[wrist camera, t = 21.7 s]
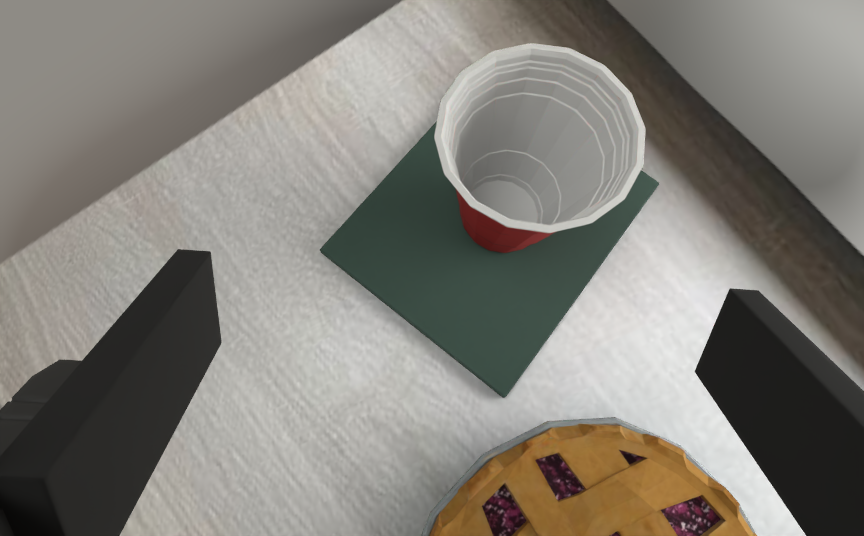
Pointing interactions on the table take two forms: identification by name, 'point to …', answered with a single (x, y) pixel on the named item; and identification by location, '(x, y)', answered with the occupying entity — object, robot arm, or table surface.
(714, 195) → the table surface
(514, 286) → the placemat
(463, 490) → the pie
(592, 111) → the plastic cup
